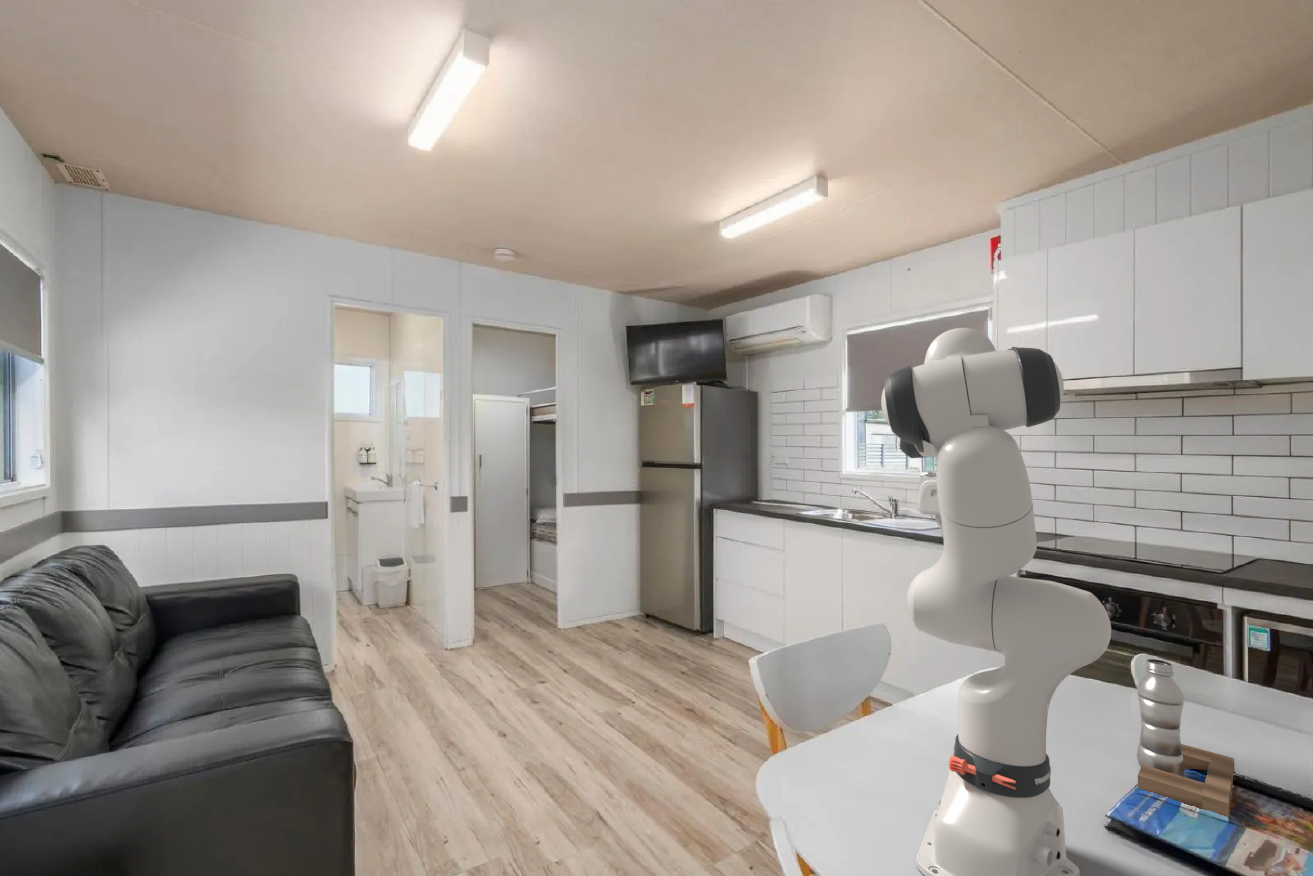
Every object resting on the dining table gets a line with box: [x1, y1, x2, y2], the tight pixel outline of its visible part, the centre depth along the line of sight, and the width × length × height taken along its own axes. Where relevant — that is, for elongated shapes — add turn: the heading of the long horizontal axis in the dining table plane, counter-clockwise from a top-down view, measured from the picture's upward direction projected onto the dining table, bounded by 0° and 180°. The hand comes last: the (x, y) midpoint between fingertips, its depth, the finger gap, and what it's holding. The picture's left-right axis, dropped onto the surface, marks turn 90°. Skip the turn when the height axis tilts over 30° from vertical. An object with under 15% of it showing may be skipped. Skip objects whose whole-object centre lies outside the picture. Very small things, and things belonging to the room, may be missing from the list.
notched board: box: [1137, 743, 1236, 819], centre depth 103 cm, size 20×11×3 cm, turn 134°
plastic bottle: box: [1136, 658, 1185, 777], centre depth 106 cm, size 6×7×20 cm
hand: (969, 539), depth 123 cm, fingers open, 8 cm apart
